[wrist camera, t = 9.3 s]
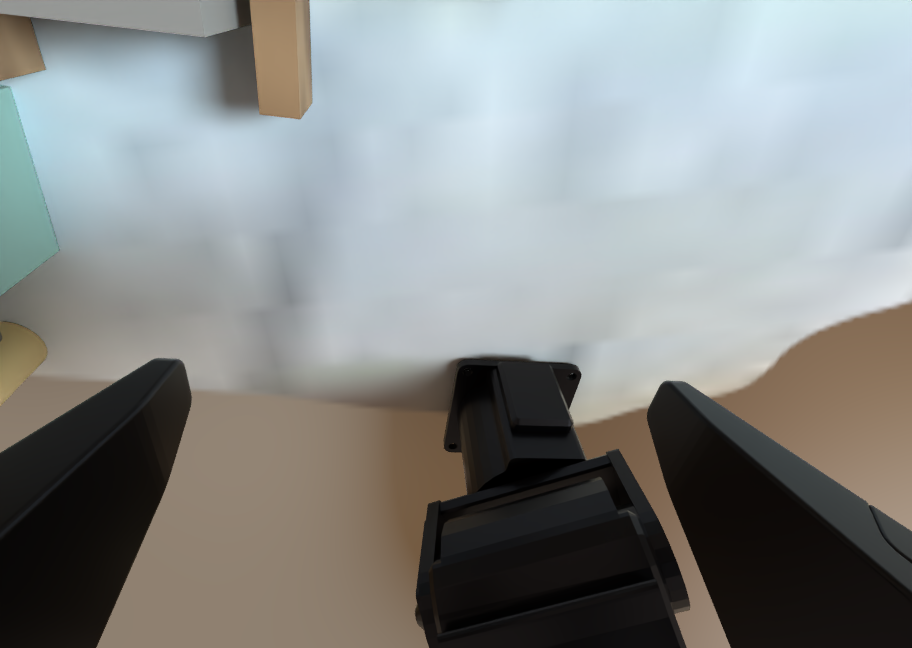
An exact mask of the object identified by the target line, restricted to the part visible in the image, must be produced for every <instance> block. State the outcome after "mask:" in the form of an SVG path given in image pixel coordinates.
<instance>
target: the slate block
mask: <svg viewBox="0 0 912 648" xmlns="http://www.w3.org/2000/svg"><path fill="white" fill-rule="evenodd" d="M0 14H9V15H18V16H26V17H35V18H43V19H52V20H61V21H69V22H78V23H86V24H95V25H104V26H112V27H121V28H129V29H138V30H147V31H155V32H164V33H172V34H181V35H189V36H198V37H208V36H212V35H215V34H219V33H222V32H226V31H230V30H233V29H237V28H240V27H244V26H248V25H251V24H252V22H251V10H250V0H0Z"/></svg>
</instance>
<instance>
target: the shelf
mask: <svg viewBox="0 0 912 648" xmlns="http://www.w3.org/2000/svg"><path fill="white" fill-rule="evenodd" d="M250 10H251V22H252V33H253V44H254V56H255V67H256V79H257V90H258V101H259V113H260V114H261V115H269V116H277V117H286V118H294V119H301V118H302V116H303V115H304V113H305V112H306V111H307V109H308V108H309V107H310V105H311V104H312V76H311V42H310V7H309V0H250ZM42 70H46V69H45V65H44V62H43V59H42V56H41V52H40V49H39V46H38V43H37V39H36V36H35V33H34V30H33V26H32V23H31V20H30V17H26V16H18V15H9V14H0V81H1V80H5V79H9V78H14V77H18V76H22V75H26V74H30V73H34V72H38V71H42Z"/></svg>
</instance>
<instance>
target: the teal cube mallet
mask: <svg viewBox="0 0 912 648" xmlns="http://www.w3.org/2000/svg"><path fill="white" fill-rule="evenodd" d="M58 251H59V247H58V244H57V240H56V237H55V234H54V230H53V227H52V224H51V220H50V217H49V214H48V210H47V207H46V204H45V200H44V197H43V194H42V190H41V187H40V184H39V180H38V177H37V174H36V170H35V167H34V164H33V160H32V157H31V154H30V150H29V147H28V144H27V140H26V137H25V134H24V130H23V127H22V124H21V120H20V117H19V114H18V110H17V107H16V104H15V100H14V97H13V94H12V90H11V87H8V86H2V85H0V296H1V295H2V294H4V293H5V292H6V291H8V290H9V289H10V288H11V287H13V286H14V285H15V284H17V283H18V282H19V281H20V280H22V279H23V278H24V277H26V276H27V275H28V274H30V273H31V272H32V271H33V270H35V269H36V268H37V267H39V266H40V265H41V264H42V263H44V262H45V261H46V260H48V259H49V258H50V257H51V256H53V255H54V254H55V253H57V252H58ZM46 356H47V348H46V346H45V344H44V342H43V341H42V340H41V338H40V337H39V336H38V335H36V334H35V333H34V332H32V331H31V330H29V329H27V328H25V327H23V326H21V325H18V324H14V323H10V322H0V406H1V405H2V404H3V403H4V402H5V401H6V400H7V399H8V398H9V397H10V396H11V394H12V393H14V391H15V390H16V389H17V388H18V387H19V386H20V385H21V384H22V383H23V382H24V381H25V380H26V379H27V378H28V377H29V376H30V375H31V374H32V373H33V372H34V370H35V369H36V368H37V367H38V366H39V365H40V364H41V363H42V362H43V361H44V360H45V359H46Z"/></svg>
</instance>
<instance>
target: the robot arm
mask: <svg viewBox="0 0 912 648" xmlns="http://www.w3.org/2000/svg"><path fill="white" fill-rule="evenodd" d="M467 368H469V369H470V370H469V371H464V369H467ZM571 373H573V374H572V375H569V374H571ZM580 379H581V372H580V370H579V368H578V367H577V366H576V365H573V364H553V363H532V362H512V361H491V360H470V359H467V360H463V361H461V362H459V363H458V365H457V369H456V374H455V380H454V385H453V391H452V397H451V402H450V408H449V413H448V419H447V425H446V430H445V436H444V449H445V450H446V451H448V452H462V457H463V465H464V473H465V480H466V488H467V495H464V496H461V497H457V498H454V499H450V500H447V501H443V502H441V501H436V502H432V503H429V504H428V508H427V516H426V521H425V523H424V532H423V540H422V549H421V556H420V564H419V572H418V580H417V589H416V599H417V606H416V609H415V616H416V621H417V624H418V625H419V626H420V627H421V628H422V629H423V630H424V631H425V635H426V639H427V642H428V645H429V648H686V645H685V642H684V640H683V637H682V634H681V631H680V628H679V626H678V623H677V620H676V617H675V615H674V614H675V613H679V612H684V611H688V610H690V602H689V598H688V594H687V591H686V587H685V584H684V581H683V578H682V575H681V572H680V569H679V567H678V564H677V561H676V559H675V557H674V554H673V551H672V549H671V546H670V544H669V542H668V539H667V537H666V535H665V533H664V530H663V528H662V526H661V524H660V522H659V520H658V518H657V516H656V514H655V513H654V511H653V509H652V507H651V505H650V504H649V502H648V500H647V498H646V496H645V495H644V493H643V491H642V489H641V488H640V486H639V484H638V483H637V481H636V479H635V477H634V476H633V474H632V472H631V470H630V468H629V467H628V465H627V463H626V461H625V460H624V458H623V456H622V454H621V453H620V451H619V449H616V450H612V451H609V452H606V455H603V456H599V457H596V458H593V459H589V460H587V459H586V457H585V454H584V451H583V449H582V446H581V443H580V441H579V438H578V436H577V433H576V431H575V428H574V426H573V420H572V417H571V415H570V412H569V408H570V406H571V403H572V400H573V397H574V395H575V392H576V389H577V387H578V384H579V381H580ZM191 398H192V397H191V390H190V386H189V382H188V378H187V373H186V369H185V366H184V363H183V362H182V361H181V360H179V359H167V358H156V359H153V360H151V361H149V362H148V363H146V364H145V365H143V366H141V367H140V368H138V369H136V370H135V371H133V372H131V373H130V374H128V375H127V376H125V377H123V378H122V379H120V380H118V381H117V382H115V383H113V384H112V385H110V386H109V387H107V388H105V389H104V390H102V391H100V392H99V393H97V394H96V395H94V396H92V397H91V398H89V399H88V400H86V401H84V402H82V403H81V404H79V405H78V406H76V407H74V408H73V409H71V410H69V411H68V412H66V413H65V414H63V415H61V416H60V417H58V418H56V419H55V420H53V421H51V422H50V423H48V424H46V425H45V426H43V427H42V428H40V429H38V430H37V431H35V432H33V433H32V434H30V435H29V436H27V437H25V438H24V439H22V440H21V441H19V442H17V443H15V444H14V445H12V446H11V447H9V448H7V449H6V450H4V451H2V452H1V453H0V648H96V647H97V645H98V643H99V640H100V638H101V636H102V633H103V631H104V629H105V627H106V624H107V622H108V620H109V617H110V615H111V613H112V610H113V608H114V606H115V604H116V601H117V599H118V597H119V595H120V592H121V590H122V588H123V585H124V583H125V581H126V578H127V576H128V574H129V572H130V569H131V567H132V565H133V562H134V560H135V558H136V556H137V553H138V551H139V549H140V546H141V544H142V542H143V540H144V537H145V535H146V533H147V530H148V528H149V526H150V524H151V521H152V519H153V516H154V514H155V512H156V510H157V507H158V505H159V503H160V501H161V498H162V496H163V493H164V491H165V488H166V486H167V482H168V480H169V477H170V474H171V470H172V466H173V464H174V460H175V457H176V454H177V450H178V447H179V444H180V441H181V437H182V434H183V431H184V427H185V424H186V420H187V417H188V414H189V411H190V407H191ZM647 421H648V425H649V428H650V432H651V435H652V439H653V442H654V446H655V449H656V452H657V456H658V460H659V463H660V467H661V470H662V473H663V477H664V480H665V483H666V486H667V489H668V492H669V495H670V498H671V500H672V503H673V505H674V508H675V510H676V512H677V515H678V518H679V520H680V522H681V525H682V528H683V530H684V532H685V535H686V537H687V540H688V542H689V545H690V547H691V550H692V552H693V555H694V557H695V560H696V562H697V565H698V567H699V570H700V572H701V575H702V577H703V580H704V582H705V584H706V587H707V590H708V592H709V594H710V597H711V599H712V602H713V604H714V607H715V609H716V612H717V614H718V617H719V619H720V622H721V624H722V627H723V629H724V631H725V634H726V637H727V639H728V642H729V644H730V647H731V648H912V531H910V530H909V529H907V528H906V527H904V526H903V525H901V524H899V523H898V522H897V521H895V520H893V519H892V518H890V517H889V516H887V515H886V514H884V513H883V512H881V511H880V510H878V509H877V508H875V507H874V506H872V505H868V503H867V502H866V501H865V500H863V499H862V498H860V497H859V496H857V495H856V494H854V493H852V492H851V491H850V490H848V489H846V488H845V487H843V486H842V485H840V484H839V483H837V482H836V481H834V480H833V479H831V478H830V477H828V476H827V475H825V474H824V473H822V472H821V471H819V470H818V469H816V468H815V467H813V466H812V465H810V464H808V463H807V462H806V461H804V460H802V459H801V458H800V457H798V456H797V455H795V454H793V453H792V452H790V451H789V450H787V449H786V448H784V447H783V446H781V445H780V444H778V443H777V442H775V441H774V440H772V439H771V438H769V437H768V436H766V435H765V434H763V433H762V432H760V431H758V430H757V429H756V428H754V427H753V426H751V425H750V424H748V423H747V422H745V421H744V420H742V419H741V418H739V417H737V416H736V415H735V414H733V413H732V412H730V411H729V410H727V409H725V408H724V407H722V406H721V405H719V404H718V403H716V402H715V401H713V400H712V399H710V398H709V397H707V396H706V395H704V394H703V393H701V392H700V391H698V390H697V389H695V388H694V387H692V386H691V385H689V384H688V383H686V382H683V381H664V382H663V383H662V384H661V385H660V387H659V389H658V391H657V393H656V395H655V396H654V398H653V400H652V402H651V404H650V406H649V409H648V412H647ZM452 443H454V444H452Z"/></svg>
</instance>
